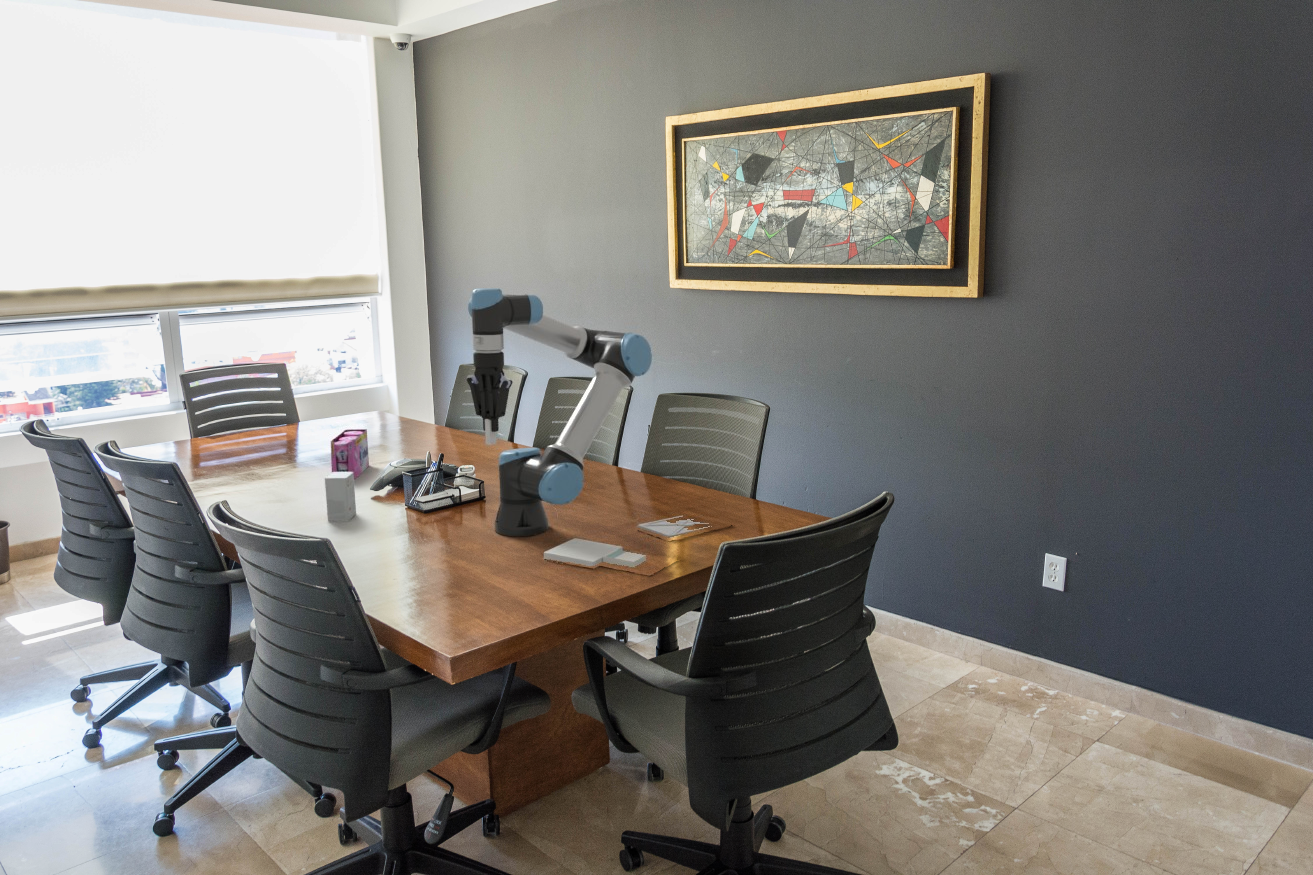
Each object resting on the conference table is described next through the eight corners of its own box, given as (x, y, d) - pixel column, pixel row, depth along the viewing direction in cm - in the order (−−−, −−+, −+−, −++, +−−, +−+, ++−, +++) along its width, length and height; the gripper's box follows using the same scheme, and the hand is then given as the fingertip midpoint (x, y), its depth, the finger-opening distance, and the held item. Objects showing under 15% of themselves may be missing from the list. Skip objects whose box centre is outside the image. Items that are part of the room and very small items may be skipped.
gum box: (354, 481, 329) (351, 442, 326) (330, 481, 328) (328, 442, 325) (369, 465, 352) (367, 428, 349) (347, 465, 351) (345, 429, 349)
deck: (574, 545, 259) (574, 538, 258) (622, 554, 252) (622, 546, 251) (543, 559, 247) (543, 552, 246) (593, 569, 240) (593, 561, 239)
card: (615, 557, 248) (615, 549, 248) (646, 562, 244) (646, 554, 243) (603, 563, 243) (603, 555, 242) (633, 569, 238) (633, 561, 238)
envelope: (732, 528, 277) (699, 518, 288) (732, 521, 277) (699, 511, 287) (669, 542, 262) (637, 531, 272) (669, 534, 262) (637, 523, 272)
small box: (335, 513, 288) (332, 471, 286) (356, 513, 289) (354, 471, 286) (327, 521, 280) (324, 477, 278) (349, 521, 281) (346, 477, 278)
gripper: (458, 351, 240) (461, 443, 245) (499, 354, 234) (502, 449, 239) (477, 348, 247) (480, 438, 251) (518, 351, 241) (521, 443, 245)
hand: (491, 443), depth 245 cm, fingers closed
